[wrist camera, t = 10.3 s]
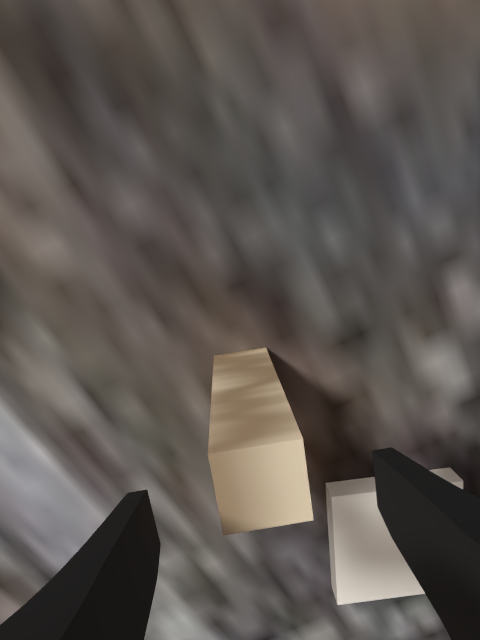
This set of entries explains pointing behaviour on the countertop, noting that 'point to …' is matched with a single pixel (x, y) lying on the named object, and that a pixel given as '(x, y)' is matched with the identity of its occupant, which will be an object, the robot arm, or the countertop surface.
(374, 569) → the tile
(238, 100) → the countertop surface
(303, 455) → the stick
